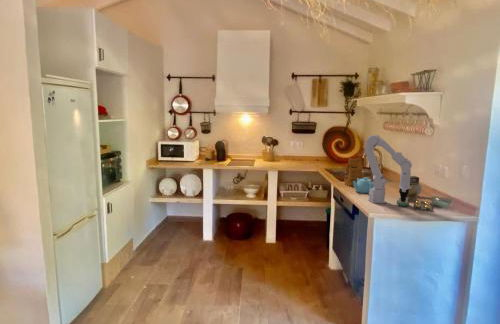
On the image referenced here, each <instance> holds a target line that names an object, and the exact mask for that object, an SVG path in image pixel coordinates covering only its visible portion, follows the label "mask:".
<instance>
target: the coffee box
mask: <svg viewBox="0 0 500 324" xmlns="http://www.w3.org/2000/svg"><path fill="white" fill-rule="evenodd" d="M419 184H420V177H419V176H416V175H411V176H410V187H412V188H411V189H409V191H408V192H409V193H408V194H407V197H408V202H416V201H418V196H419V195H418V186H419Z"/></svg>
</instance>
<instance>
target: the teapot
mask: <svg viewBox="0 0 500 324" xmlns="http://www.w3.org/2000/svg"><path fill="white" fill-rule="evenodd" d="M373 183H374V181H373V180H371V179H369V178H368V177H363V178H362V179H360V178H357V183H356V181H353V184H354V186H353V188H354V189H355V191H356V192H357V193H359V194H365V195H366V194H368V195H369V190H370V189H372V188H374V185H373Z"/></svg>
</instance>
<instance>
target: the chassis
mask: <svg viewBox="0 0 500 324" xmlns="http://www.w3.org/2000/svg"><path fill="white" fill-rule="evenodd" d="M432 207H433V206H432V204H431V202H430V201H429V199H426V201H425V202H424V203H422V202H421V200H420V198H417V201H415V202H414V203H413V208H412V209H413V210H417V211H425V212H433V208H432Z"/></svg>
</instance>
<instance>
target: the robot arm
mask: <svg viewBox="0 0 500 324" xmlns="http://www.w3.org/2000/svg"><path fill="white" fill-rule="evenodd" d="M376 146H378V147H381V148H383V149H384V150H385V151H386V153H389V154H390V156H391V159H392V160H393V161H394V162H396V164H397V165H398V166H400V178H399V186H398V188H399V190H398V192H399V196H401V202H405V200H406V197H407V194H408V193H409V192H408V191H409V189H411V188H412V187H410V176H412V175H411V174H412V169H411V168H412V167H413V163H412V162H411V160H409V159H408V158H407V157H405V156H404V155H403V152H400V151H396V150H394V148H392V146H390V144H389V143H388V142H387V141H386V140H385V139H384V138H382V137H381V136H380V135H378V134H373V135H369V136H368V137H367V139H366V141H365V146H364V153H365V156H366V158H367V161H368V164H369V167H370V171H371V173H372V179H373V180H372V182H373V185H374V188H372V189H370V190H369V194H368V199H367V201H369V202H371V203H372V204H387V203H388V202H387V201H385V198H386V187H385V186H386V185H387V180H386V178H385V177H384V175H383V174H382V173H381V170H380V167H379V163H378V160H377V156H376V154H375V152H374V150H375V148H376Z"/></svg>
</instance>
